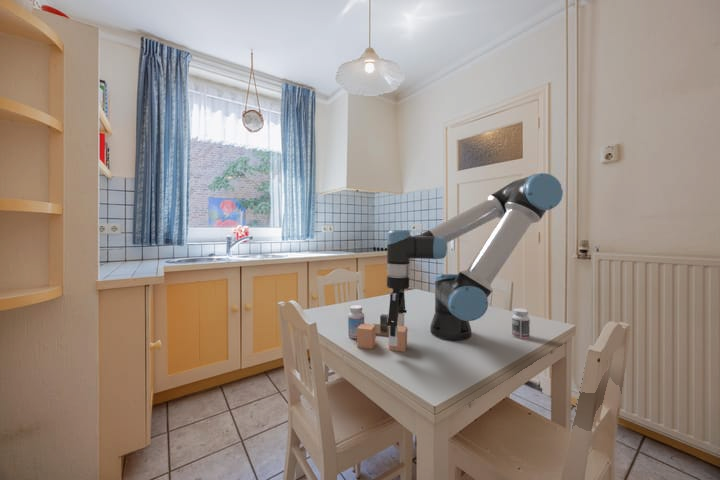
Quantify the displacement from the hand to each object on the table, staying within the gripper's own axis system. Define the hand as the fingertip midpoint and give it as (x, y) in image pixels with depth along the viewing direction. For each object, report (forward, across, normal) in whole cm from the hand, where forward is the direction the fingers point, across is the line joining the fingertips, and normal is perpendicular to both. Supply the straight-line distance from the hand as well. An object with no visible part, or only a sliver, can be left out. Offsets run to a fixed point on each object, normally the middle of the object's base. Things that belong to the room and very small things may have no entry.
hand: (396, 337), depth 98 cm
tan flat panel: (+3, -14, -8) cm, 16 cm away
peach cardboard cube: (+4, +1, -10) cm, 11 cm away
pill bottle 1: (+4, -6, -16) cm, 18 cm away
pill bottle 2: (+3, -23, +42) cm, 48 cm away
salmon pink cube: (+3, 0, 0) cm, 3 cm away
